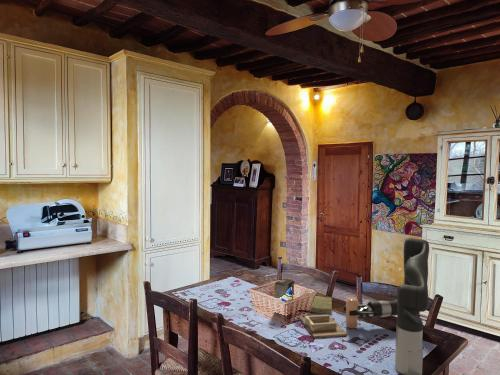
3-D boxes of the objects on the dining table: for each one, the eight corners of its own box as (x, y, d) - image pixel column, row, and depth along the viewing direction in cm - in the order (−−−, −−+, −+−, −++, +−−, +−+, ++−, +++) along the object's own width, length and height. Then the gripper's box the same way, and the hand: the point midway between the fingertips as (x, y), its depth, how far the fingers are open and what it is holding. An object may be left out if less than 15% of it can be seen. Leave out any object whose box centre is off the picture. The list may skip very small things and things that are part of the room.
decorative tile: (296, 299, 216) (296, 293, 216) (331, 302, 212) (331, 296, 212) (293, 311, 198) (294, 305, 198) (332, 315, 194) (332, 308, 194)
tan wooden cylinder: (359, 327, 177) (360, 301, 176) (348, 328, 176) (349, 301, 175) (354, 323, 182) (354, 297, 181) (343, 323, 181) (344, 297, 180)
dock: (347, 335, 170) (347, 327, 170) (313, 338, 167) (314, 329, 167) (330, 317, 190) (330, 310, 189) (300, 319, 187) (300, 311, 187)
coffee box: (284, 306, 203) (284, 278, 202) (293, 309, 199) (294, 280, 198) (274, 311, 196) (275, 282, 195) (284, 315, 192) (285, 284, 191)
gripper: (372, 296, 188) (340, 298, 185) (387, 307, 174) (353, 309, 171) (371, 310, 188) (340, 312, 185) (386, 322, 174) (353, 324, 171)
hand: (347, 310), depth 178 cm, fingers closed on tan wooden cylinder, 5 cm apart
